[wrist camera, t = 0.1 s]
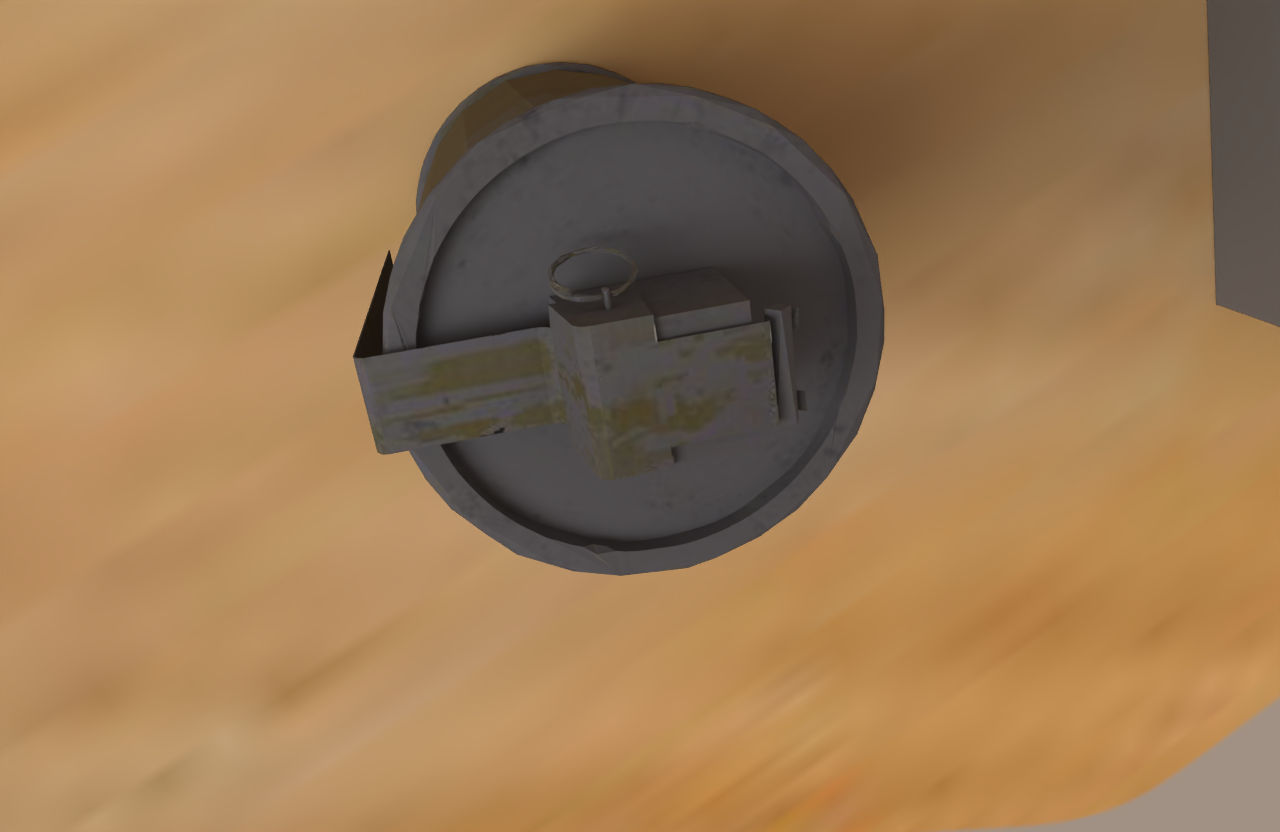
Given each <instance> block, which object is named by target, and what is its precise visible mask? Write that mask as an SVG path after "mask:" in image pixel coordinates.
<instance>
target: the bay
mask: <svg viewBox="0 0 1280 832" xmlns="http://www.w3.org/2000/svg"><path fill="white" fill-rule="evenodd" d="M1207 9H1208V42H1209V76H1210V109H1211V142H1212V176H1213V209H1214V242H1215V275H1216V304H1217V305H1220V306H1222V307H1225V308H1228V309H1231V310H1234V311H1236V312H1239V313H1242V314H1245V315H1248V316H1251V317H1253V318H1256V319H1259V320H1262V321H1265V322H1268V323H1270V324H1273V325H1276V326H1279V327H1280V0H1207Z"/></svg>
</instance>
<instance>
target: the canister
mask: <svg viewBox="0 0 1280 832" xmlns="http://www.w3.org/2000/svg"><path fill="white" fill-rule="evenodd" d="M416 210H417V214H416V216H415V218H414V220H413V221H412V223H411V225H410V227H409V228H408V230H407V232H406V234H405V236H404V238H403V241H402V243H401V246H400V249H399V251H398V254H397V257H396V259H395V262H394V266H393V263H392V259H391V254H390V250H389V251H388V254H387V257H386V260H385V263H384V266H383V269H382V272H381V275H380V278H379V281H378V284H377V287H376V290H375V293H374V296H373V299H372V302H371V305H370V308H369V311H368V314H367V317H366V320H365V322H364V325H363V328H362V331H361V334H360V337H359V340H358V343H357V346H356V349H355V352H354V355H353V359H354V363H355V367H356V370H357V374H358V378H359V382H360V386H361V390H362V394H363V398H364V402H365V405H366V409H367V413H368V417H369V421H370V425H371V429H372V433H373V436H374V440H375V444H376V448H377V452H378V453H380V454H383V455H384V454H393V453H398V452H403V451H409V452H410V453H411V455H412V457H413V458H414V460H415V462H416V463H417V465H418V467H419V469H420V470H421V472H422V474H423V475H424V477H425V479H426V480H427V481H428V482H429V484H430V485H431V486H432V487H433V488H434V489H435V491H436V492H437V493H438V494H439V495H440V496H441V498H442V499H443V500H444V501H445V502H446V503H447V504H448V506H449V507H450V508H451V509H452V510H454V511H455V512H456V513H458V514H459V515H460V516H462V517H463V518H465V519H466V520H467V521H469V522H470V523H472V524H473V525H474V526H476V527H477V528H478V529H480V530H481V531H483V532H484V533H485V534H487V535H488V536H490V537H491V538H493V539H494V540H496V541H498V542H499V543H501V544H502V545H504V546H505V547H507V548H508V549H510V550H511V551H513V552H514V553H516V554H517V555H521V556H524V557H527V558H531V559H534V560H537V561H541V562H544V563H548V564H551V565H554V566H558V567H561V568H565V569H568V570H571V571H577V572H588V573H598V574H609V575H619V576H623V575H631V574H640V573H648V572H657V571H665V570H674V569H682V568H688V567H691V566H694V565H697V564H700V563H702V562H705V561H708V560H711V559H714V558H716V557H719V556H721V555H723V554H725V553H727V552H729V551H731V550H733V549H735V548H737V547H739V546H741V545H743V544H745V543H747V542H749V541H752V540H754V539H756V538H758V537H759V536H761V535H762V534H764V533H765V532H766V531H768V530H769V529H771V528H772V527H773V526H775V525H776V524H778V523H779V522H780V521H782V520H783V519H784V518H786V517H787V516H789V515H790V514H791V513H793V512H794V511H796V510H797V509H798V508H799V507H800V506H801V505H802V504H803V503H804V502H805V501H806V499H807V498H808V497H809V496H810V495H811V494H812V493H813V492H814V491H815V490H816V489H817V488H818V487H819V485H820V484H821V483H822V482H823V481H824V480H825V479H826V478H827V476H828V475H829V474H830V472H831V471H832V469H833V468H834V466H835V465H836V463H837V462H838V461H839V459H840V458H841V456H842V455H843V453H844V452H845V451H846V449H847V448H848V446H849V445H850V443H851V442H852V440H853V439H854V438H855V436H856V435H857V433H858V430H859V428H860V425H861V423H862V420H863V418H864V415H865V412H866V410H867V407H868V405H869V402H870V400H871V397H872V395H873V392H874V390H875V385H876V380H877V375H878V370H879V365H880V360H881V354H882V349H883V344H884V305H883V297H882V289H881V281H880V272H879V264H878V256H877V253H876V251H875V249H874V246H873V244H872V242H871V240H870V237H869V235H868V233H867V231H866V228H865V226H864V224H863V222H862V219H861V217H860V215H859V212H858V210H857V208H856V206H855V203H854V201H853V199H852V198H851V196H850V195H849V193H848V192H847V190H846V189H845V187H844V186H843V184H842V183H841V182H840V180H839V179H838V177H837V176H836V174H835V173H834V171H833V170H832V169H831V168H830V167H829V166H828V165H827V164H826V163H825V162H824V161H823V160H822V159H821V158H820V157H819V156H818V155H817V154H816V153H815V152H814V151H813V150H812V149H811V148H810V147H809V145H808V144H807V143H806V142H805V141H804V140H803V139H801V138H800V137H798V136H797V135H795V134H794V133H793V132H791V131H790V130H788V129H787V128H785V127H784V126H782V125H781V124H780V123H778V122H777V121H775V120H773V119H772V118H770V117H768V116H767V115H765V114H763V113H761V112H760V111H758V110H756V109H754V108H752V107H749V106H747V105H744V104H742V103H739V102H737V101H734V100H732V99H729V98H726V97H723V96H720V95H716V94H713V93H710V92H706V91H703V90H700V89H696V88H692V87H685V86H677V85H670V84H636V83H635V82H633V81H631V80H629V79H627V78H625V77H623V76H621V75H618V74H616V73H614V72H611V71H608V70H604V69H601V68H598V67H595V66H591V65H585V64H574V63H563V62H557V63H547V64H539V65H533V66H527V67H523V68H520V69H517V70H514V71H512V72H509V73H507V74H504V75H502V76H499V77H497V78H495V79H493V80H491V81H490V82H488V83H486V84H485V85H483V86H481V87H480V88H478V89H477V90H476V91H475V92H473V93H472V94H471V95H470V96H468V97H467V98H466V99H465V100H464V101H462V102H461V103H460V104H459V105H458V106H457V107H456V109H455V110H454V111H453V112H452V113H451V114H450V116H449V117H448V118H447V119H446V121H445V122H444V124H443V125H442V126H441V128H440V129H439V131H438V132H437V134H436V136H435V138H434V140H433V142H432V144H431V146H430V148H429V151H428V153H427V155H426V157H425V160H424V163H423V166H422V170H421V173H420V179H419V184H418V189H417V198H416Z"/></svg>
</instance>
